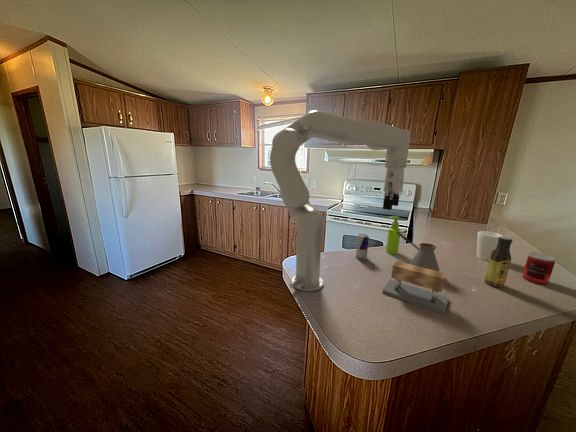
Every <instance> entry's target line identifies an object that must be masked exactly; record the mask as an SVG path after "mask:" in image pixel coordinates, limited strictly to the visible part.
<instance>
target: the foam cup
mask: <svg viewBox="0 0 576 432" xmlns="http://www.w3.org/2000/svg"><path fill="white" fill-rule="evenodd" d="M476 237H477V238H476V239H477V242H476V257H477V258H478V259H481V260H484V261H489V259H490V256H491V253H492V251H493V250H494V249H496V248H497V245H498V238H499V237H504V235H502V234H501V233H496V232H494V231H488V230H487V231H486V230H479V231H478V232H477V235H476Z"/></svg>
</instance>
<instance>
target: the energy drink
mask: <svg viewBox="0 0 576 432" xmlns="http://www.w3.org/2000/svg"><path fill="white" fill-rule="evenodd" d="M356 240H357V241H356V252H355V253H356V254H355V258H356V259H357V260H360V261H361V260H362V261H364V260H365V261H366V260H367V258H368V252H369V250H368V249H369V248H368V247H369V240H370V239H369V235H368V234H365V233H359V234H358V235H357V239H356Z"/></svg>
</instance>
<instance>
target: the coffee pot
mask: <svg viewBox="0 0 576 432" xmlns="http://www.w3.org/2000/svg"><path fill="white" fill-rule="evenodd" d="M396 233H397V234H399V235H400V238H402V240H404V241H406V242H407V243H409V244H410V245H411V246H413V247H414V248H415V249H417V250H418V251H417V253H416V254H415V255H414V257H413V258H412V260H411V261H410V262H409V264H411V265H415V266H419V267H423V268H427V269H431V270H435V271H439V272H440V266H439V263H438V261H437V257H436V254H435V250H436V249H437V246H436V244H432V243H427V242H422V243H421V242H420V243H419V244H418V245H419V247H418V246H417V245H416V244H415V243H413V242H412V241H411V240H410V239H408V238H407V237H406V236H404V235H403V234H402V233H399V232H396ZM396 233H395V234H396ZM397 234H396V235H397Z"/></svg>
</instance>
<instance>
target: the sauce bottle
mask: <svg viewBox="0 0 576 432" xmlns="http://www.w3.org/2000/svg"><path fill="white" fill-rule="evenodd" d="M512 243H513V238H511V237H508V236H507V237H506V236H503V237H499V238H498V245H497V248H496V249H494V250H493V251H492V253H491V256H490V259H489V260H488V264H487V268H486V270H485V275H484V280H483V281H484V283H486V284H487V285H488V286H491V287H495V288H503V287H504V286H505V284H506V279H507V277H508V273H509V270H510V266H511V261H512V255H511V250H510V249H511V245H512Z"/></svg>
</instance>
